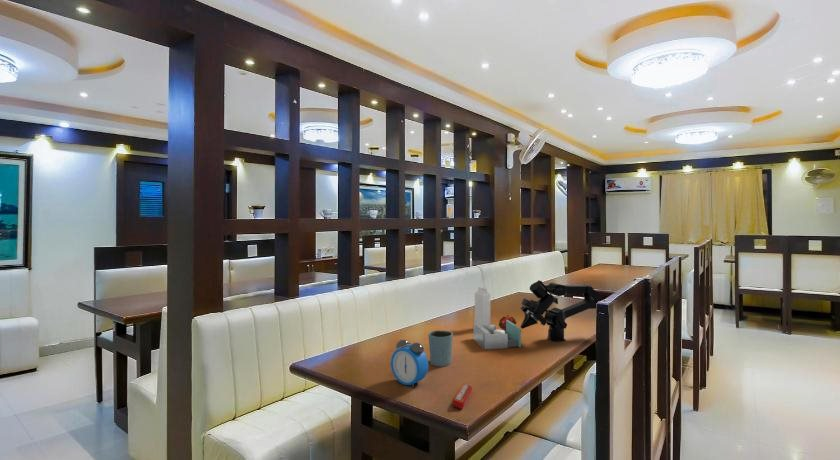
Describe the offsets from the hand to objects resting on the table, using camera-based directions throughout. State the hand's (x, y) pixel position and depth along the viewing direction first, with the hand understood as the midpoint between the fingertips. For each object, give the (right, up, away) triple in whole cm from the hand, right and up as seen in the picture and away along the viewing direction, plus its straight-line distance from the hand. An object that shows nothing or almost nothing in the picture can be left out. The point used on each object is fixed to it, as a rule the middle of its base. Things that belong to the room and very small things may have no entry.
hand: (521, 327), depth 195 cm
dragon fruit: (-2, -6, +20) cm, 21 cm away
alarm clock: (-52, -8, -49) cm, 72 cm away
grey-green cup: (-40, -8, -28) cm, 49 cm away
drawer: (-10, -7, -1) cm, 12 cm away
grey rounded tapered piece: (-11, -5, -1) cm, 12 cm away
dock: (-15, -7, -2) cm, 17 cm away
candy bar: (-35, -9, -62) cm, 71 cm away
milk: (-15, -6, +23) cm, 28 cm away
